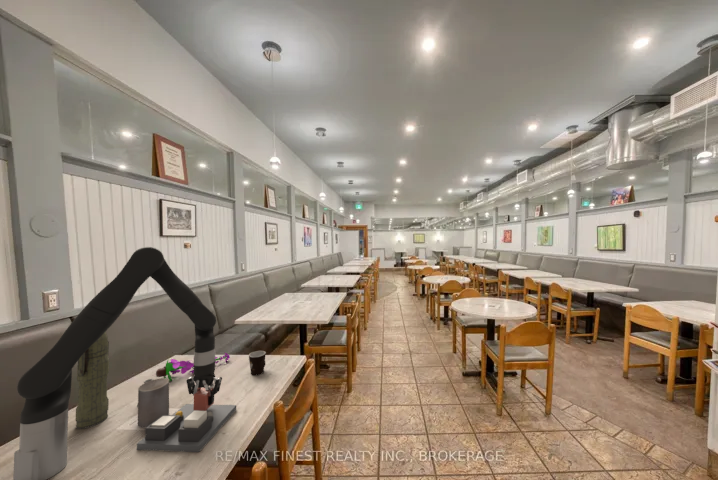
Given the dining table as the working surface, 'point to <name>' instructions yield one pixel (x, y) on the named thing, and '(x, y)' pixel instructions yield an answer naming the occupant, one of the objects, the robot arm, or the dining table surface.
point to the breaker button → (195, 419)
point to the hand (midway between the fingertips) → (203, 403)
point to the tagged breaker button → (163, 421)
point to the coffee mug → (257, 362)
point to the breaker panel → (186, 430)
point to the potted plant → (176, 366)
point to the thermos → (93, 384)
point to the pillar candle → (153, 401)
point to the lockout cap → (201, 400)
